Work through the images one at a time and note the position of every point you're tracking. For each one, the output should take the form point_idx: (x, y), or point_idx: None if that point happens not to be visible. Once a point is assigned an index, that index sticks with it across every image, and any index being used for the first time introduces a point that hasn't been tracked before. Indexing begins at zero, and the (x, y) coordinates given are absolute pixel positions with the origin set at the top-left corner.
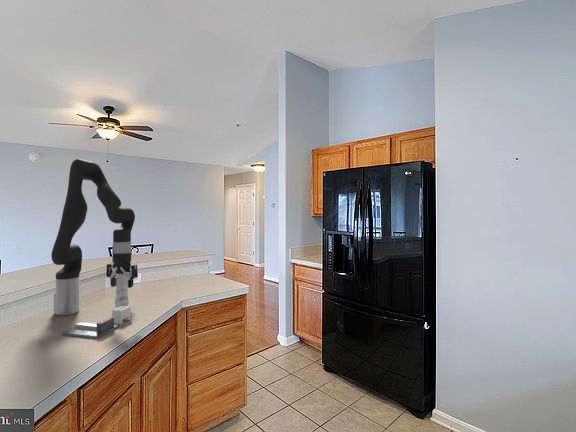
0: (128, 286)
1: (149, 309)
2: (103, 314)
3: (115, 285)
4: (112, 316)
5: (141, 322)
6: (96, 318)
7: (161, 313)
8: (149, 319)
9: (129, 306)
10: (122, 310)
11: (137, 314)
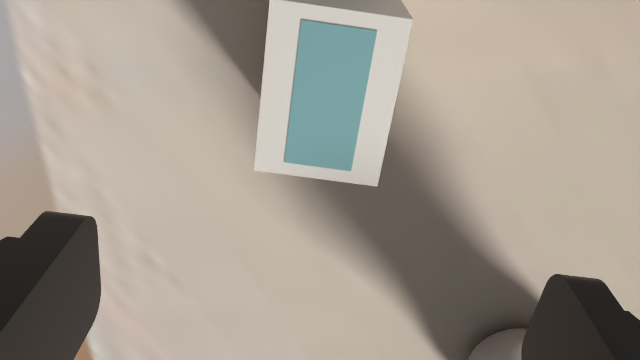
0: (58, 228)
1: (245, 334)
2: (600, 206)
3: (526, 350)
4: (396, 2)
5: (101, 33)
6: (623, 104)
7: None
8: (79, 116)
9: (263, 164)
10: (268, 25)
11: (277, 225)
